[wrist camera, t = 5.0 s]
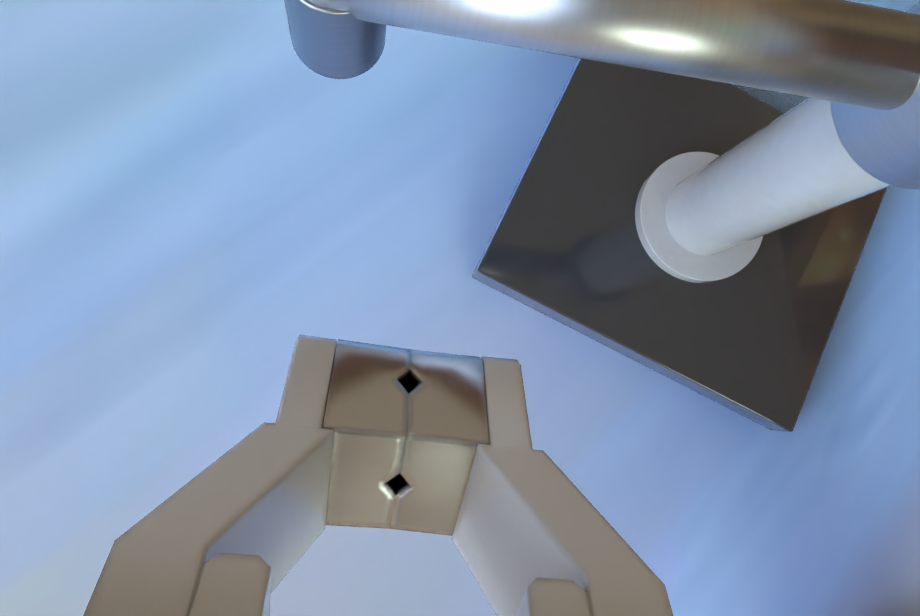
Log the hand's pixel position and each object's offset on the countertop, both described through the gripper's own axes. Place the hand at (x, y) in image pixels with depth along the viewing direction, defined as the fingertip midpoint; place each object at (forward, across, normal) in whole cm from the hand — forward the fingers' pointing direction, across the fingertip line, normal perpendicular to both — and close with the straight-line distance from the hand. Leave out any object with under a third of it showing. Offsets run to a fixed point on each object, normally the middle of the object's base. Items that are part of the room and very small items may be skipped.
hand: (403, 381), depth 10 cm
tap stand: (+18, -12, +7) cm, 23 cm away
